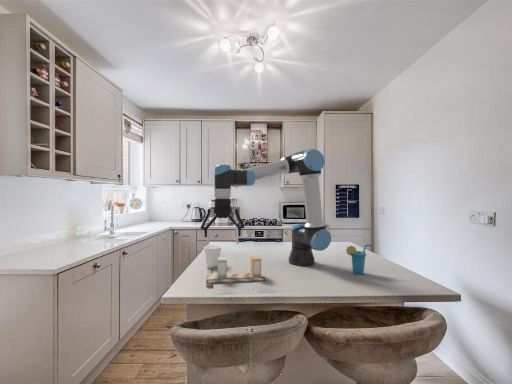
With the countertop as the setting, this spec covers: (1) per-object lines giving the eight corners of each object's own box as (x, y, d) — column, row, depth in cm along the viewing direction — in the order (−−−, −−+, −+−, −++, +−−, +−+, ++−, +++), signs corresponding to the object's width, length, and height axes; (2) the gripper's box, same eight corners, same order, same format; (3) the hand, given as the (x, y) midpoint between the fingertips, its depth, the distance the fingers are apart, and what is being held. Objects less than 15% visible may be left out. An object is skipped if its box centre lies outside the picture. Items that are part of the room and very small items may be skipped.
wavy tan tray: (259, 275, 131) (259, 269, 131) (264, 283, 119) (264, 277, 119) (206, 277, 126) (206, 271, 126) (206, 286, 115) (206, 279, 115)
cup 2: (368, 270, 141) (368, 242, 141) (376, 275, 133) (377, 245, 133) (343, 271, 139) (343, 243, 139) (350, 276, 131) (351, 246, 131)
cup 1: (218, 270, 139) (218, 249, 139) (200, 268, 141) (200, 248, 141) (224, 265, 149) (224, 245, 149) (207, 263, 151) (207, 244, 151)
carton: (225, 275, 126) (226, 256, 126) (226, 279, 120) (226, 260, 120) (217, 275, 125) (217, 257, 125) (217, 280, 119) (217, 260, 119)
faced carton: (258, 274, 128) (258, 255, 128) (261, 278, 122) (261, 259, 122) (250, 274, 128) (250, 256, 128) (252, 278, 122) (252, 259, 122)
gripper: (248, 197, 128) (248, 241, 128) (195, 198, 124) (195, 243, 124) (250, 198, 121) (250, 244, 121) (194, 198, 117) (194, 246, 117)
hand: (222, 243), depth 122 cm, fingers open, 13 cm apart
